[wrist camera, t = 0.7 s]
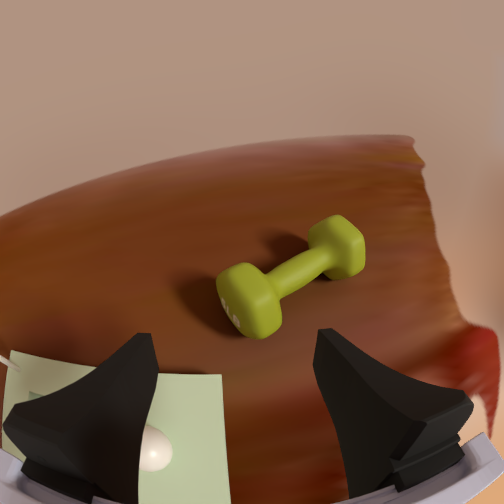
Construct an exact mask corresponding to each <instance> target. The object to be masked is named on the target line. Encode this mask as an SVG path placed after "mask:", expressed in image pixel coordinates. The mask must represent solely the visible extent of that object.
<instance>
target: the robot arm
mask: <svg viewBox="0 0 504 504" xmlns="http://www.w3.org/2000/svg"><path fill="white" fill-rule="evenodd" d="M313 368H314V372H315V376H316V380H317V384H318V386H319V389H320V391H321V394H322V396H323V399H324V401H325V403H326V406H327V408H328V411H329V413H330V415H331V418H332V420H333V423H334V426H335V429H336V432H337V436H338V440H339V444H340V448H341V452H342V457H343V461H344V466H345V472H346V477H347V484H348V491H349V500H346V501H342V502H338V503H334V504H465V503H466V502H468V501H469V500H471V499H472V498H473V497H475V496H476V495H478V494H479V493H480V492H481V491H483V490H484V489H485V488H486V487H488V486H489V485H490V484H491V483H493V482H494V481H495V480H496V479H497V478H498V477H499V476H500V475H502V474H503V473H504V460H503V459H502V457H501V456H500V454H499V453H498V451H497V450H496V448H495V447H494V446H493V444H492V443H491V441H490V440H489V438H488V437H487V436H486V434H485V433H484V432H482V433H480V434H479V435H477V436H476V437H474V438H473V439H471V440H470V441H468V442H466V443H465V444H464V445H463V446H461V447H460V446H459V444H458V442H459V441H460V437H459V435H458V434H457V433H458V432H459V431H460V429H461V428H462V427H463V425H464V424H465V423H466V421H467V420H468V418H469V417H470V415H471V414H472V411H473V408H474V404H473V402H472V401H471V400H470V399H469V397H468V396H467V395H466V394H465V392H464V391H463V390H457V389H451V388H445V387H440V386H436V385H432V384H428V383H425V382H422V381H419V380H416V379H413V378H411V377H408V376H406V375H403V374H401V373H399V372H397V371H395V370H393V369H391V368H389V367H387V366H385V365H383V364H382V363H380V362H378V361H377V360H375V359H374V358H372V357H370V356H369V355H367V354H366V353H364V352H363V351H362V350H360V349H359V348H357V347H356V346H355V345H353V344H352V343H351V342H349V341H348V340H347V339H345V338H344V337H343V336H341V335H340V334H339V333H338V332H336V331H335V330H333V329H332V328H329V329H318V335H317V342H316V348H315V354H314V360H313ZM158 372H159V367H158V363H157V359H156V355H155V350H154V346H153V342H152V337H151V333H137V334H136V335H135V336H133V337H132V338H131V339H130V340H129V341H128V342H127V343H125V344H124V345H123V346H122V347H121V348H120V349H119V350H117V351H116V352H115V353H114V354H113V355H112V356H111V357H109V358H108V359H107V360H106V361H104V362H103V363H102V364H100V365H99V366H98V367H97V368H95V369H94V370H93V371H91V372H90V373H88V374H87V375H85V376H84V377H82V378H80V379H79V380H77V381H75V382H74V383H72V384H70V385H68V386H66V387H64V388H62V389H60V390H58V391H55V392H53V393H50V394H48V395H45V396H42V397H40V398H36V399H33V400H29V401H25V402H21V403H16V404H14V406H13V408H12V409H11V411H10V413H9V414H8V416H7V417H6V419H5V421H4V422H3V424H2V426H3V430H4V432H5V434H6V435H7V437H8V438H9V439H10V440H11V441H12V443H13V444H14V445H15V446H16V447H17V448H18V449H19V450H20V451H21V452H22V454H23V455H24V456H25V457H26V459H25V461H24V462H23V461H21V460H20V459H19V458H17V457H15V456H14V455H12V454H10V453H8V452H7V451H5V450H3V449H2V448H0V503H1V504H139V496H138V483H139V464H140V453H141V445H142V438H143V432H144V428H145V424H146V420H147V417H148V413H149V410H150V407H151V403H152V400H153V397H154V393H155V390H156V385H157V379H158Z"/></svg>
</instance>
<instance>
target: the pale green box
mask: <svg viewBox="0 0 504 504" xmlns="http://www.w3.org/2000/svg"><path fill="white" fill-rule="evenodd" d="M0 361H1V362H2V363H4V364H5V365H7V366H8V371H7V377H6V384H5V393H4V403H3V418H2V424H3V422H4V421H5V419H6V417H7V416H8V414H9V413H10V411H11V409H12V408H13V406H14V404H16V403H21V402H25V401H29V400H33V399H36V398H40V397H42V396H45V395H48V394H50V393H53V392H55V391H58V390H60V389H62V388H64V387H66V386H68V385H70V384H72V383H74V382H75V381H77V380H79V379H80V378H82V377H84V376H85V375H87V374H88V373H90V372H91V371H93V370H94V369H95V368H97V367H91V366H84V365H78V364H72V363H66V362H61V361H56V360H51V359H46V358H41V357H37V356H33V355H29V354H25V353H21V352H17V351H13V350H11V354H10V359H9V360H7V359H6V358H4V357H2V356H1V355H0ZM145 425H147V426H152V427H154V428H157V429H158V430H160V431H161V432H163V433H164V434H165V435H166V436H167V438H168V439H169V441H170V443H171V445H172V450H173V454H172V458H171V461H170V463H169V464H168V465H167V466H166V467H165V468H163V469H161V470H159V471H155V472H146V471H142V470H139V483H138V496H139V504H231V500H230V490H229V479H228V467H227V454H226V441H225V426H224V409H223V391H222V376H221V374H219V375H193V374H162V373H158V379H157V385H156V390H155V393H154V397H153V400H152V403H151V407H150V410H149V413H148V417H147V420H146V424H145ZM2 449H3V450H5V451H7V452H8V453H10V454H12V455H14V456H15V457H17V458H19V459H20V460H21V461H23V462H24V461H25V459H26V457H25V456H24V455H23V454H22V452H21V451H20V450H19V449H18V448H17V447H16V446H15V445H14V444H13V443H12V441H11V440H10V439H9V438H8V437H7V435H6V434H5V432H4V430H3V426H2Z"/></svg>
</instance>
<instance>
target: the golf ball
mask: <svg viewBox="0 0 504 504" xmlns="http://www.w3.org/2000/svg"><path fill="white" fill-rule="evenodd" d="M172 454H173V450H172V445H171V443H170V441H169V439H168V438H167V436H166V435H165V434H164V433H163V432H161V431H160V430H158V429H157V428H154V427H152V426H147V425H145V428H144V432H143V438H142V445H141V453H140V464H139V470H142V471H146V472H155V471H159V470H161V469H163V468H165V467H166V466H167V465H168V464H169V463H170V461H171V458H172Z"/></svg>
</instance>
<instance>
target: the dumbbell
mask: <svg viewBox="0 0 504 504" xmlns="http://www.w3.org/2000/svg"><path fill="white" fill-rule="evenodd" d="M308 247H309V250H307V251H305V252H302V253H300V254H298V255H296V256H295V257H293V258H291V259H289V260H287V261H286V262H284V263H282V264H280V265H279V266H277V267H276V268H274V269H273V270H272V271H270V272H269V273H267V274H263V273H262V272H261V271H260V270H259V269H258V268H256V267H255V266H253V265H252V264H249V263H239V264H236V265H234V266H232V267H230V268H228V269H226V270H224V271H223V272H221V273H220V274H219V275H218V276H217V278H216V287H217V292H218V295H219V298H220V301H221V304H222V306H223V308H224V310H225V312H226V314H227V316H228V317H229V319H230V320H231V321H232V323H233V324H234V325H235V327H236V328H237V329H238V330H239V331H240V332H241V333H242V334H243V335H244V336H246V337H248V338H252V339H264V338H266V337H268V336H269V335H271V334H272V333H274V332H275V331H276V330H277V329H278V328H279V327H280V326H281V323H282V313H281V308H280V303H279V301H280V299H281V298H283V297H285V296H287V295H289V294H291V293H293V292H295V291H296V290H298V289H300V288H301V287H303V286H305V285H306V284H308V283H309V282H310V281H312V280H313V279H315V278H316V277H317V276H318V275H320V274H321V273H322V272H323V273H324V274H325V275H326V276H327V277H328V278H329V279H331V280H340V279H345V278H349V277H352V276H354V275H356V274H357V273H359V272H360V271H361V270H362V269H363V268H364V265H365V242H364V238H363V236H362V234H361V233H360V231H359V230H358V229H357V228H355V227H354V226H353V225H352V224H351V223H350V222H349V221H347V220H346V219H345V218H343V217H342V216H340V215H333V216H330V217H328V218H326V219H324V220H322V221H320V222H319V223H317V224H315V225H314V226H313V227H311V228H310V230H309V231H308Z"/></svg>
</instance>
